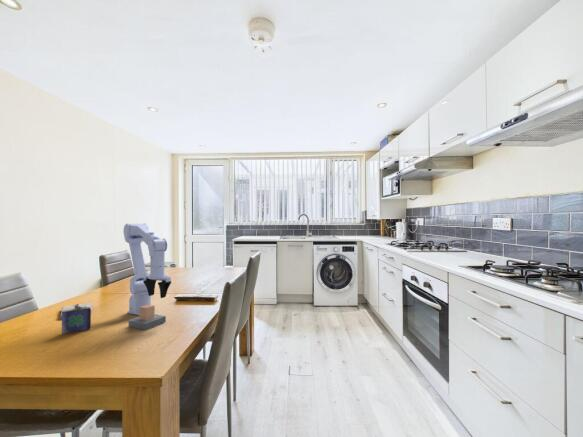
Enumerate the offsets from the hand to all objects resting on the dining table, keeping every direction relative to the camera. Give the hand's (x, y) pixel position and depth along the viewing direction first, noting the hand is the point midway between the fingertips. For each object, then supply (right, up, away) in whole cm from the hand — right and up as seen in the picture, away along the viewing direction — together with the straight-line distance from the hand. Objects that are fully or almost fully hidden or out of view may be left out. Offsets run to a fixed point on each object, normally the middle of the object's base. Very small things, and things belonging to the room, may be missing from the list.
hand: (157, 296), depth 124 cm
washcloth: (-44, -11, +10) cm, 46 cm away
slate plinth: (-1, -10, -6) cm, 12 cm away
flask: (-26, -10, -13) cm, 31 cm away
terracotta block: (-2, -8, -6) cm, 10 cm away
